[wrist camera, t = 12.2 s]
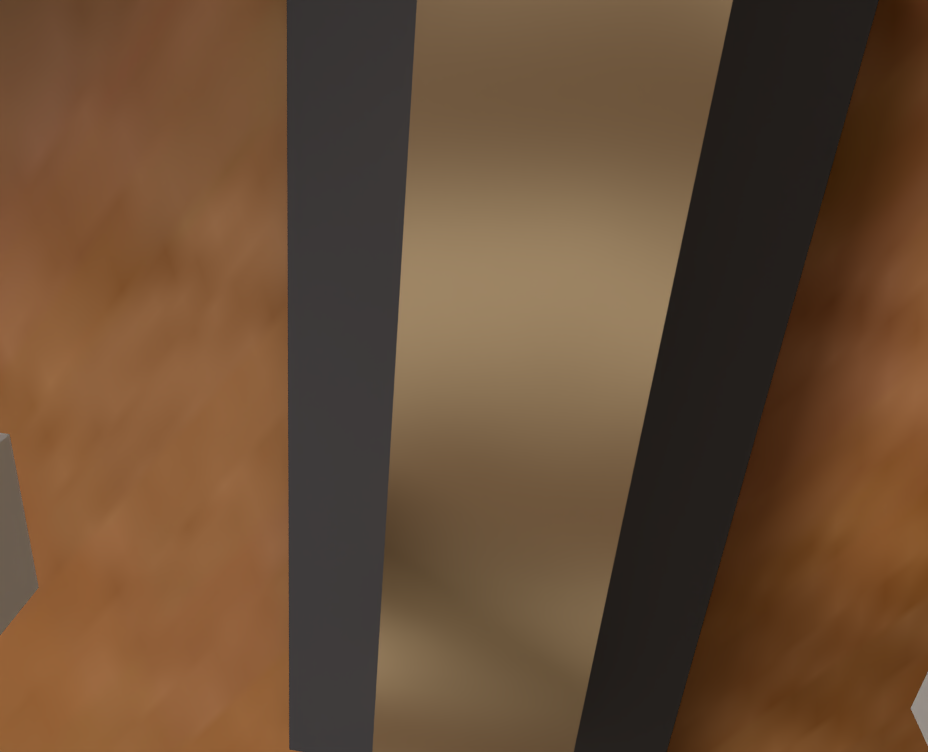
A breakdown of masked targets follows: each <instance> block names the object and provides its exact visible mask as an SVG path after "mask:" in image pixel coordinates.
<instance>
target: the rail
mask: <svg viewBox="0 0 928 752" xmlns="http://www.w3.org/2000/svg"><path fill="white" fill-rule="evenodd" d="M732 2H733V0H417V9H416V26H415V43H414V60H413V76H412V93H411V110H410V127H409V144H408V161H407V178H406V194H405V211H404V228H403V245H402V262H401V279H400V295H399V312H398V329H397V346H396V363H395V380H394V396H393V413H392V430H391V447H390V464H389V481H388V497H387V514H386V531H385V548H384V565H383V582H382V599H381V615H380V632H379V649H378V666H377V683H376V700H375V716H374V733H373V750H372V752H574V748H575V743H576V738H577V734H578V729H579V724H580V720H581V715H582V710H583V705H584V701H585V696H586V691H587V687H588V682H589V677H590V672H591V668H592V663H593V658H594V653H595V649H596V644H597V639H598V635H599V630H600V625H601V620H602V616H603V611H604V606H605V602H606V597H607V592H608V587H609V583H610V578H611V573H612V569H613V564H614V559H615V554H616V550H617V545H618V540H619V536H620V531H621V526H622V521H623V517H624V512H625V507H626V502H627V498H628V493H629V488H630V484H631V479H632V474H633V469H634V465H635V460H636V455H637V451H638V446H639V441H640V436H641V432H642V427H643V422H644V418H645V413H646V408H647V403H648V399H649V394H650V389H651V385H652V380H653V375H654V370H655V366H656V361H657V356H658V352H659V347H660V342H661V337H662V333H663V328H664V323H665V318H666V314H667V309H668V304H669V300H670V295H671V290H672V285H673V281H674V276H675V271H676V267H677V262H678V257H679V252H680V248H681V243H682V238H683V234H684V229H685V224H686V219H687V215H688V210H689V205H690V201H691V196H692V191H693V186H694V182H695V177H696V172H697V168H698V163H699V158H700V153H701V149H702V144H703V139H704V134H705V130H706V125H707V120H708V116H709V111H710V106H711V101H712V97H713V92H714V87H715V83H716V78H717V73H718V68H719V64H720V59H721V54H722V50H723V45H724V40H725V35H726V31H727V26H728V21H729V17H730V12H731V7H732Z"/></svg>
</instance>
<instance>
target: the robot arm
mask: <svg viewBox="0 0 928 752" xmlns="http://www.w3.org/2000/svg"><path fill="white" fill-rule="evenodd" d="M37 589H38V582H37V577H36V572H35V566H34V561H33V556H32V551H31V545H30V540H29V535H28V530H27V524H26V519H25V514H24V508H23V503H22V498H21V493H20V487H19V482H18V477H17V472H16V466H15V461H14V456H13V450H12V445H11V440H10V435H9V434H4V433H0V635H1V634H2V632H3V631H4V630H5V629H6V627H7V626H8V625H9V624H10V622H11V621H12V620H13V619H14V617H15V616H16V615H17V614H18V613H19V611H20V610H21V609H22V608H23V606H24V605H25V604H26V603H27V601H28V600H29V599H30V598H31V596H32V595H33V594H34V593H35V591H36V590H37ZM911 710H912V713H913V715H914V717H915V719H916V721H917V723H918V726H919V728H920V730H921V732H922V734H923V736H924V739H925V741H926V743H927V745H928V673H927V675H926V677H925V679H924V681H923V683H922V685H921V688H920V690H919V692H918V694H917V696H916V698H915V700H914V702H913V704H912V707H911Z"/></svg>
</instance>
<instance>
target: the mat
mask: <svg viewBox="0 0 928 752" xmlns="http://www.w3.org/2000/svg"><path fill="white" fill-rule="evenodd" d="M878 1H879V0H733V2H732V7H731V12H730V17H729V21H728V26H727V31H726V35H725V40H724V45H723V50H722V54H721V59H720V64H719V68H718V73H717V78H716V83H715V87H714V92H713V97H712V101H711V106H710V111H709V116H708V120H707V125H706V130H705V134H704V139H703V144H702V149H701V153H700V158H699V163H698V168H697V172H696V177H695V182H694V186H693V191H692V196H691V201H690V205H689V210H688V215H687V219H686V224H685V229H684V234H683V238H682V243H681V248H680V252H679V257H678V262H677V267H676V271H675V276H674V281H673V285H672V290H671V295H670V300H669V304H668V309H667V314H666V318H665V323H664V328H663V333H662V337H661V342H660V347H659V352H658V356H657V361H656V366H655V370H654V375H653V380H652V385H651V389H650V394H649V399H648V403H647V408H646V413H645V418H644V422H643V427H642V432H641V436H640V441H639V446H638V451H637V455H636V460H635V465H634V469H633V474H632V479H631V484H630V488H629V493H628V498H627V502H626V507H625V512H624V517H623V521H622V526H621V531H620V536H619V540H618V545H617V550H616V554H615V559H614V564H613V569H612V573H611V578H610V583H609V587H608V592H607V597H606V602H605V606H604V611H603V616H602V620H601V625H600V630H599V635H598V639H597V644H596V649H595V653H594V658H593V663H592V668H591V672H590V677H589V682H588V687H587V691H586V696H585V701H584V705H583V710H582V715H581V720H580V724H579V729H578V734H577V738H576V743H575V748H574V752H667V748H668V745H669V741H670V738H671V734H672V731H673V727H674V724H675V720H676V717H677V713H678V709H679V706H680V702H681V699H682V695H683V692H684V688H685V685H686V681H687V678H688V674H689V670H690V667H691V663H692V660H693V656H694V653H695V649H696V646H697V642H698V639H699V635H700V631H701V628H702V624H703V621H704V617H705V614H706V610H707V607H708V603H709V600H710V596H711V593H712V589H713V585H714V582H715V578H716V575H717V571H718V568H719V564H720V561H721V557H722V554H723V550H724V546H725V543H726V539H727V536H728V532H729V529H730V525H731V522H732V518H733V515H734V511H735V508H736V504H737V500H738V497H739V493H740V490H741V486H742V483H743V479H744V476H745V472H746V469H747V465H748V461H749V458H750V454H751V451H752V447H753V444H754V440H755V437H756V433H757V430H758V426H759V423H760V419H761V415H762V412H763V408H764V405H765V401H766V398H767V394H768V391H769V387H770V384H771V380H772V376H773V373H774V369H775V366H776V362H777V359H778V355H779V352H780V348H781V345H782V341H783V338H784V334H785V330H786V327H787V323H788V320H789V316H790V313H791V309H792V306H793V302H794V299H795V295H796V291H797V288H798V284H799V281H800V277H801V274H802V270H803V267H804V263H805V260H806V256H807V252H808V249H809V245H810V242H811V238H812V235H813V231H814V228H815V224H816V221H817V217H818V214H819V210H820V206H821V203H822V199H823V196H824V192H825V189H826V185H827V182H828V178H829V175H830V171H831V167H832V164H833V160H834V157H835V153H836V150H837V146H838V143H839V139H840V136H841V132H842V129H843V125H844V121H845V118H846V114H847V111H848V107H849V104H850V100H851V97H852V93H853V90H854V86H855V82H856V79H857V75H858V72H859V68H860V65H861V61H862V58H863V54H864V51H865V47H866V44H867V40H868V36H869V33H870V29H871V26H872V22H873V19H874V15H875V12H876V8H877V5H878ZM416 9H417V0H287V172H288V460H289V748H290V750H296V751H302V752H372V750H373V733H374V716H375V700H376V683H377V666H378V649H379V632H380V615H381V599H382V582H383V565H384V548H385V531H386V514H387V497H388V481H389V464H390V447H391V430H392V413H393V396H394V380H395V363H396V346H397V329H398V312H399V295H400V279H401V262H402V245H403V228H404V211H405V194H406V178H407V161H408V144H409V127H410V110H411V93H412V76H413V60H414V43H415V26H416Z"/></svg>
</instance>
